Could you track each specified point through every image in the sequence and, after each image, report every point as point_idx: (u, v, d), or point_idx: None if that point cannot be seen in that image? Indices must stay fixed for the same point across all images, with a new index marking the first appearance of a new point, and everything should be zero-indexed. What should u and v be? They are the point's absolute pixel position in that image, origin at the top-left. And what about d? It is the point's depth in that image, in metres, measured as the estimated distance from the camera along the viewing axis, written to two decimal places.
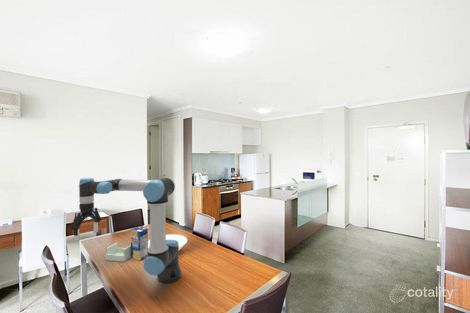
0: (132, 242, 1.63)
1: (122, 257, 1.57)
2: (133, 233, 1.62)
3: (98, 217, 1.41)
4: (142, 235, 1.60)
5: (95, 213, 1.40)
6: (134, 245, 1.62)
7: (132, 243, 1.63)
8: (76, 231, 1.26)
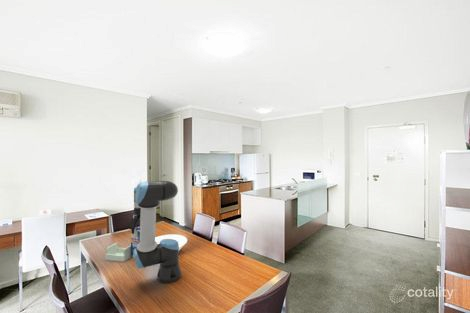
0: (132, 242, 1.63)
1: (122, 257, 1.57)
2: None
3: None
4: None
5: None
6: (134, 245, 1.62)
7: (132, 243, 1.63)
8: (133, 230, 1.56)
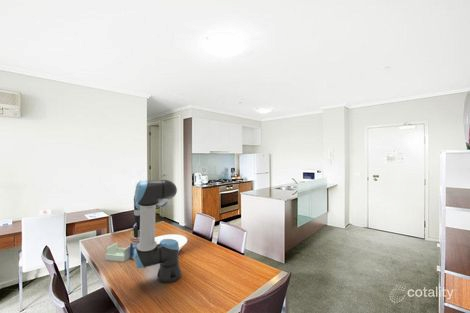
0: (132, 243, 1.61)
1: (122, 257, 1.57)
2: None
3: None
4: None
5: None
6: (134, 245, 1.60)
7: (132, 244, 1.61)
8: None
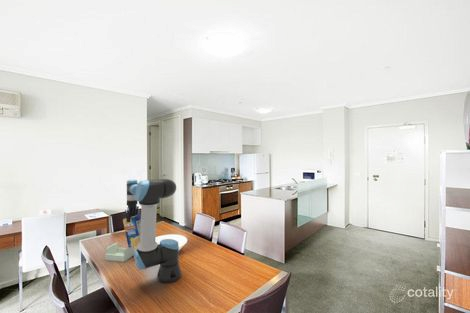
0: (127, 231, 1.62)
1: (122, 257, 1.57)
2: (127, 222, 1.61)
3: None
4: (137, 220, 1.62)
5: None
6: (130, 233, 1.61)
7: (127, 232, 1.62)
8: None
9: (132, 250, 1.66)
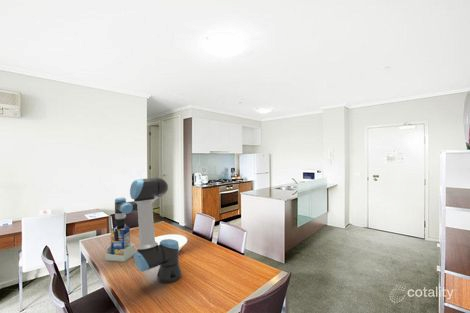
0: (113, 242, 1.61)
1: (122, 257, 1.57)
2: None
3: None
4: (126, 233, 1.62)
5: None
6: (115, 244, 1.61)
7: (113, 243, 1.61)
8: None
9: (132, 250, 1.66)
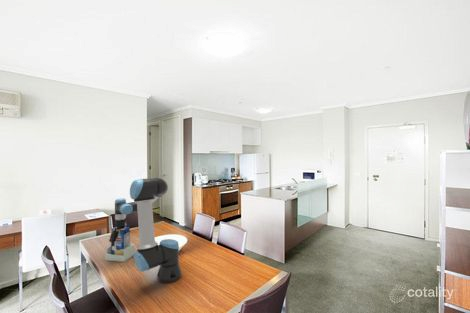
0: None
1: (122, 257, 1.57)
2: None
3: None
4: (125, 233, 1.62)
5: None
6: None
7: None
8: (113, 242, 1.56)
9: (132, 250, 1.66)
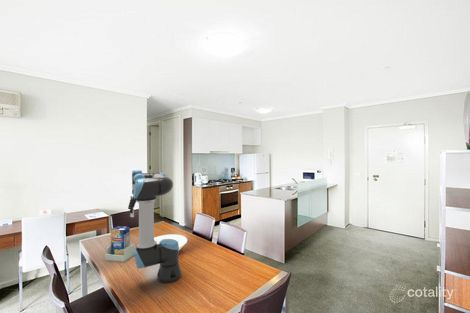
0: (113, 242, 1.61)
1: (122, 257, 1.57)
2: (115, 233, 1.61)
3: None
4: (125, 233, 1.62)
5: None
6: (115, 244, 1.61)
7: (113, 243, 1.61)
8: (132, 210, 1.66)
9: (132, 250, 1.66)
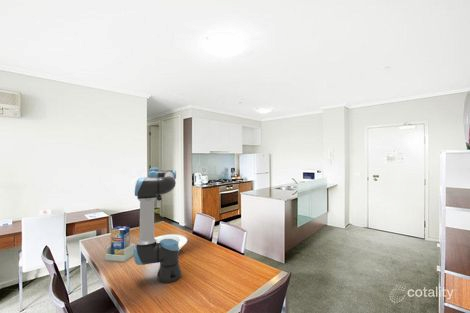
0: (113, 242, 1.61)
1: (122, 257, 1.57)
2: (115, 233, 1.61)
3: (160, 196, 1.93)
4: (125, 233, 1.62)
5: None
6: (115, 244, 1.61)
7: (113, 243, 1.61)
8: None
9: (132, 250, 1.66)
